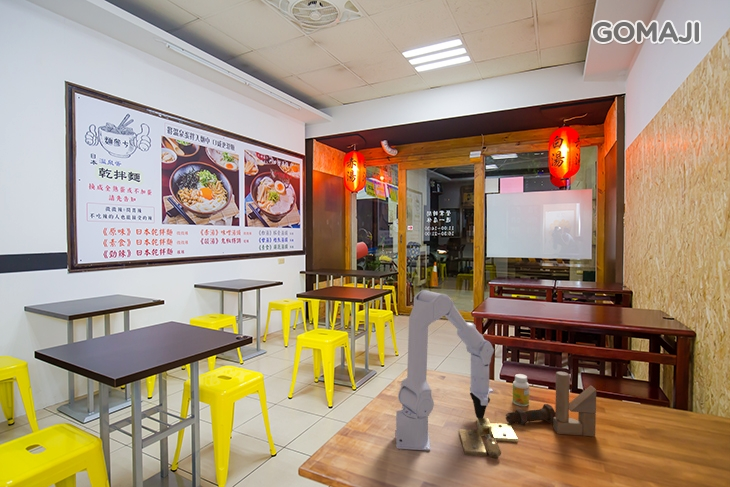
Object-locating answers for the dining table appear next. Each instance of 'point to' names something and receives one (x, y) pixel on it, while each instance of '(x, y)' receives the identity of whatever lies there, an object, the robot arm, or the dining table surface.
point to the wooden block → (574, 409)
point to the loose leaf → (496, 430)
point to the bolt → (531, 415)
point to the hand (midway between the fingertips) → (479, 417)
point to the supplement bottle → (521, 390)
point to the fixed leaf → (478, 444)
